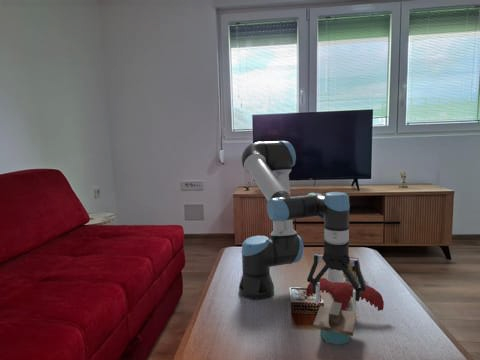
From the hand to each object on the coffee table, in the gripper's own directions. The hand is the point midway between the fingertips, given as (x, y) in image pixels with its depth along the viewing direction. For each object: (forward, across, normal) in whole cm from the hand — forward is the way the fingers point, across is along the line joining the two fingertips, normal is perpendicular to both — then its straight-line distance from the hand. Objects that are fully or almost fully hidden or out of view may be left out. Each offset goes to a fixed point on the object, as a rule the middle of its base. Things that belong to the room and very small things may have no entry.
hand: (335, 306), depth 104 cm
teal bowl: (+10, 0, 0) cm, 10 cm away
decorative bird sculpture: (+11, 0, +16) cm, 19 cm away
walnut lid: (+5, 0, 0) cm, 5 cm away
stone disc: (+11, 0, +47) cm, 48 cm away
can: (+11, -5, +32) cm, 34 cm away
